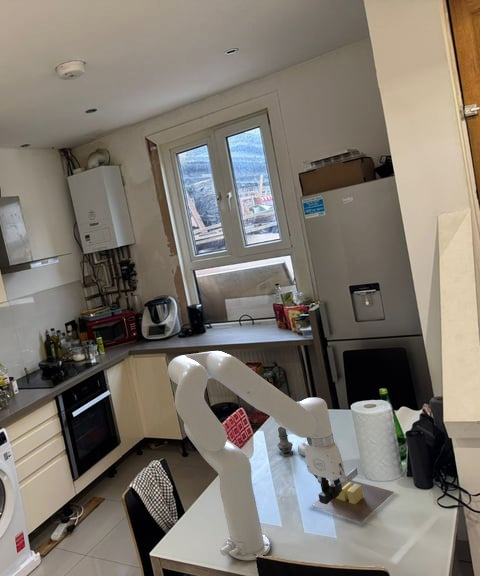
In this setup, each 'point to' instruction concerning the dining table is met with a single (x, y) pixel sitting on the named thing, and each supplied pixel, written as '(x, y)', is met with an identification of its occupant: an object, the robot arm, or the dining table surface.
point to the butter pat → (355, 493)
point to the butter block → (344, 491)
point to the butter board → (361, 508)
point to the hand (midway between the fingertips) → (331, 495)
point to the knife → (326, 494)
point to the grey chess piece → (284, 443)
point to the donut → (301, 448)
